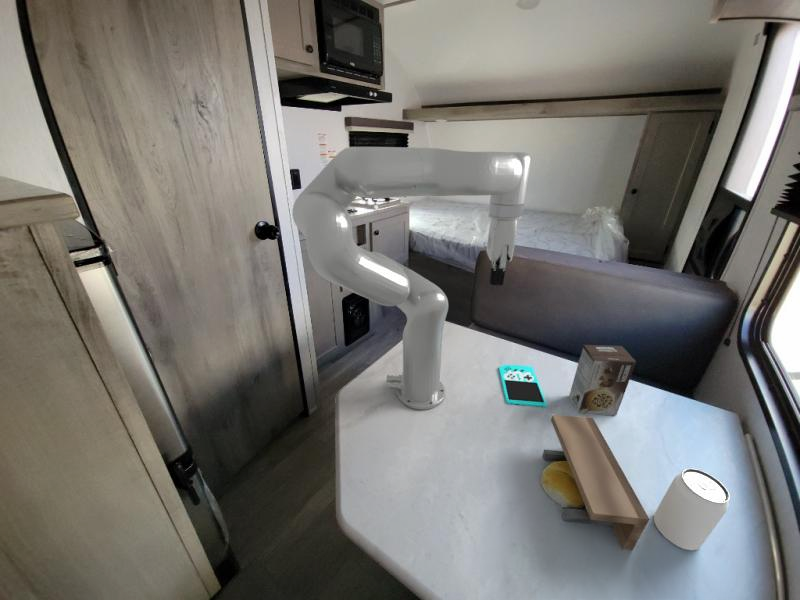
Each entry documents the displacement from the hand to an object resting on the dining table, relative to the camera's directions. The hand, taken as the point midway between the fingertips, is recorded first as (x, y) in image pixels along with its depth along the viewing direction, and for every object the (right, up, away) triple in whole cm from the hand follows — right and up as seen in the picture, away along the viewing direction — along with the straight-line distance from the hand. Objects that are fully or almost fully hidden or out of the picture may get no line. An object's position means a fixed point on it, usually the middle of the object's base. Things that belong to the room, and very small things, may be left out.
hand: (496, 283), depth 82 cm
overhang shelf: (+10, -40, -21) cm, 46 cm away
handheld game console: (+8, -28, +6) cm, 30 cm away
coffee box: (+24, -31, -1) cm, 39 cm away
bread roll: (+7, -41, -20) cm, 46 cm away
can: (+22, -44, -27) cm, 56 cm away
